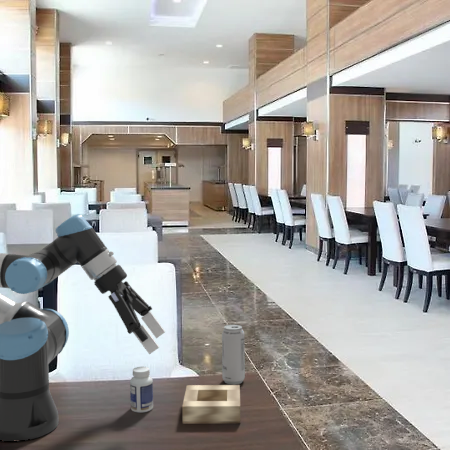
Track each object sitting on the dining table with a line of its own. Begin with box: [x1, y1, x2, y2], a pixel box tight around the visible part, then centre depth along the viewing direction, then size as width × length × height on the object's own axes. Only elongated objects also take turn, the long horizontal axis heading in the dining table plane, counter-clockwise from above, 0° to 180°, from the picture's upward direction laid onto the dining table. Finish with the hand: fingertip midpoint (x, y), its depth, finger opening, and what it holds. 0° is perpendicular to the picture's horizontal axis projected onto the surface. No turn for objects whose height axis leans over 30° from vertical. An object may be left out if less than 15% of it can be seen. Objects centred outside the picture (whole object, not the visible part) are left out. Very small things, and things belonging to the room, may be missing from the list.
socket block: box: [182, 384, 241, 425], centre depth 138 cm, size 13×13×4 cm
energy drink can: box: [221, 324, 246, 385], centre depth 157 cm, size 6×6×15 cm
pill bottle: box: [129, 366, 154, 413], centre depth 140 cm, size 5×5×10 cm
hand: (157, 342), depth 142 cm, fingers open, 13 cm apart
